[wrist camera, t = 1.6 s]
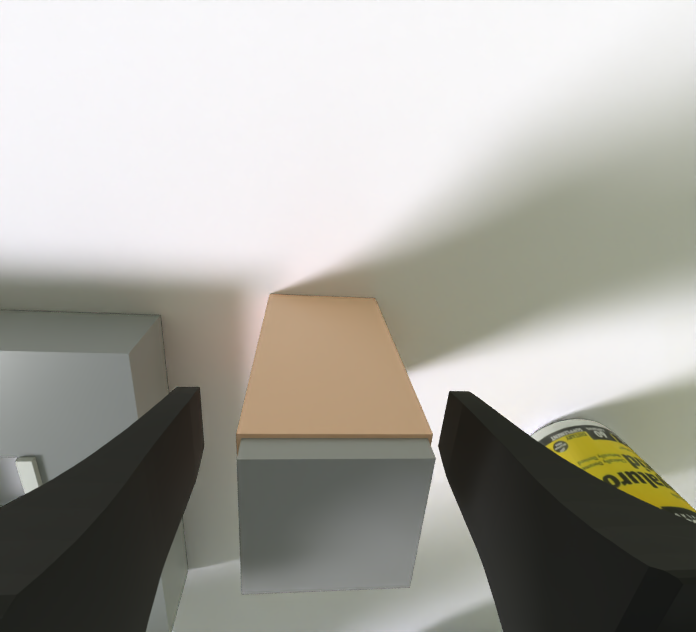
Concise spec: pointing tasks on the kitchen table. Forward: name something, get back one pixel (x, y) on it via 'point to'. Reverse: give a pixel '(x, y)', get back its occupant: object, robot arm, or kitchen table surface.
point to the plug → (329, 452)
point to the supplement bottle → (612, 462)
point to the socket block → (82, 403)
